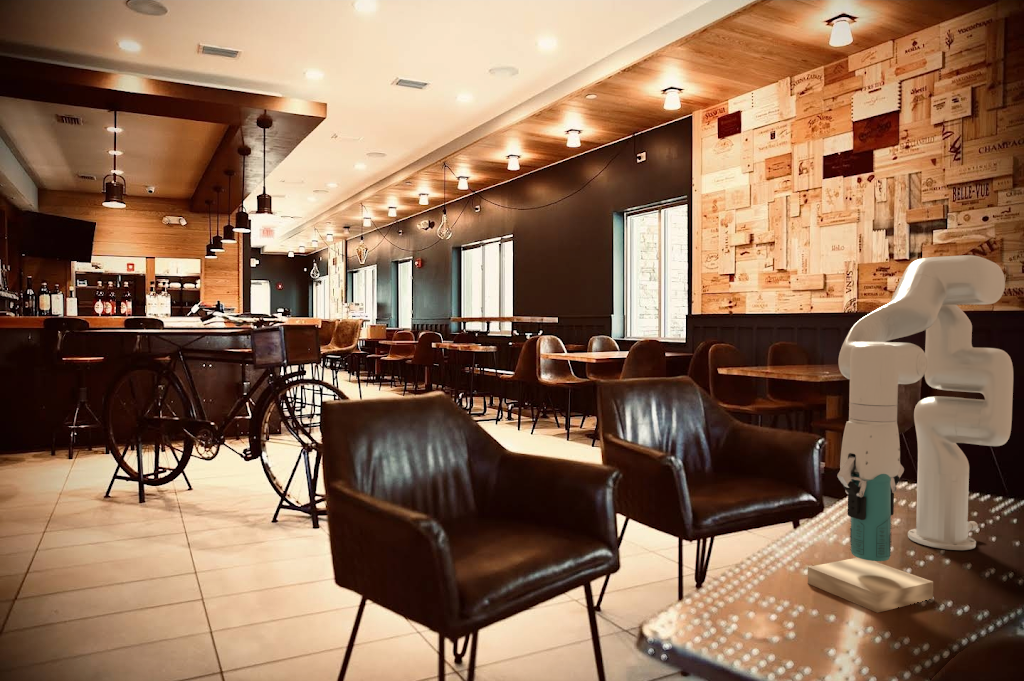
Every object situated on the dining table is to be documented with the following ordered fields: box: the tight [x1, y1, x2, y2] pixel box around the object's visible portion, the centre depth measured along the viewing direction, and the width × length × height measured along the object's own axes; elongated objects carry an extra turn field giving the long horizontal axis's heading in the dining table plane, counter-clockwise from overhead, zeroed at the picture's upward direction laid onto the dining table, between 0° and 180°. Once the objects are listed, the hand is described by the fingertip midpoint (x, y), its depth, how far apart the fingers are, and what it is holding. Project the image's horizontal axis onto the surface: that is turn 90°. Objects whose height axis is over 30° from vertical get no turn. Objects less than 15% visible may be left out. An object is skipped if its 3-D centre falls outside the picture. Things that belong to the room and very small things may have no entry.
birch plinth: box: [807, 557, 934, 613], centre depth 123 cm, size 14×14×3 cm
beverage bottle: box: [849, 474, 893, 562], centre depth 123 cm, size 6×7×20 cm
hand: (870, 514), depth 123 cm, fingers closed on beverage bottle, 6 cm apart
